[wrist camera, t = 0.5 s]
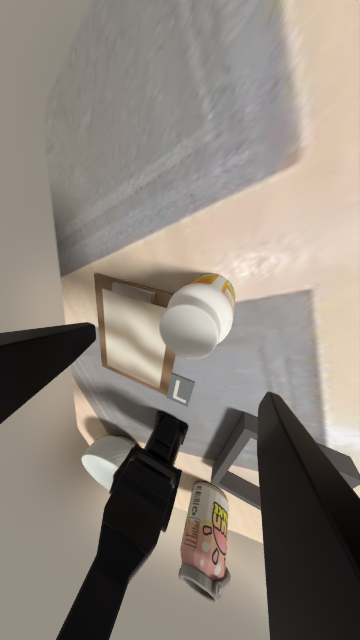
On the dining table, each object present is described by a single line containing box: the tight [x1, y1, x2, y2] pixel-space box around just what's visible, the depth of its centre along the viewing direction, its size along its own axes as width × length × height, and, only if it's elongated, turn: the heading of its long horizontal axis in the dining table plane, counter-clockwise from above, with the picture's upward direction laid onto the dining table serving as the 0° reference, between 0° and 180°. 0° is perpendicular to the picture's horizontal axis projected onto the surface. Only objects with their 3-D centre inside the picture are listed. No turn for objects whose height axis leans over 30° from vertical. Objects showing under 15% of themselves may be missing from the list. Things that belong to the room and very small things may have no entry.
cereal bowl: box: [82, 436, 135, 491], centre depth 39 cm, size 17×17×7 cm
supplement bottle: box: [159, 274, 235, 359], centre depth 14 cm, size 5×5×10 cm
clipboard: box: [94, 273, 175, 395], centre depth 24 cm, size 18×14×2 cm
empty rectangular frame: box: [211, 412, 360, 510], centre depth 25 cm, size 18×13×2 cm
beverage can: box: [179, 481, 231, 603], centre depth 30 cm, size 9×8×12 cm
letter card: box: [167, 373, 195, 406], centre depth 26 cm, size 6×4×1 cm, turn 170°
